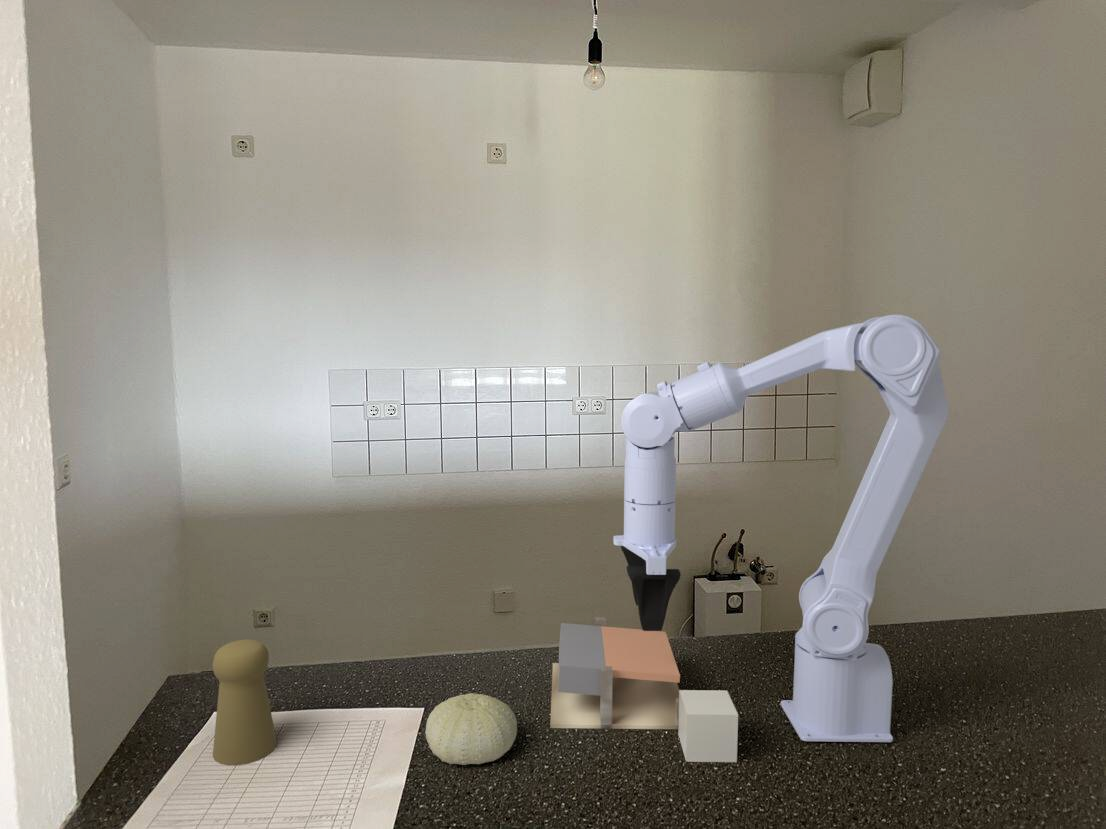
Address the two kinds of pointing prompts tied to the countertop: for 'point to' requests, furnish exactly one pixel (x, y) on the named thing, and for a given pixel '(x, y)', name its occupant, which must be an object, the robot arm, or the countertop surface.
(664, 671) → the trapdoor
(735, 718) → the off-white sharp-edged cube
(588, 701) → the frame
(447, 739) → the sea urchin shell
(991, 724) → the countertop surface
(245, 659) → the cork
